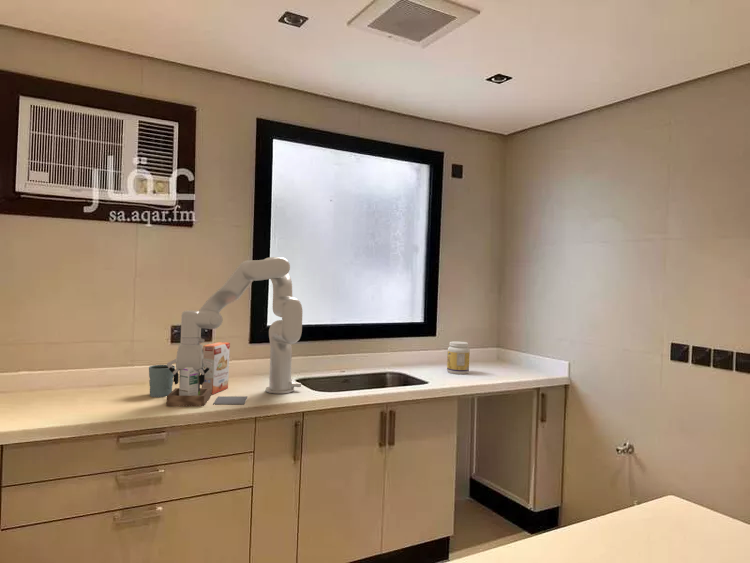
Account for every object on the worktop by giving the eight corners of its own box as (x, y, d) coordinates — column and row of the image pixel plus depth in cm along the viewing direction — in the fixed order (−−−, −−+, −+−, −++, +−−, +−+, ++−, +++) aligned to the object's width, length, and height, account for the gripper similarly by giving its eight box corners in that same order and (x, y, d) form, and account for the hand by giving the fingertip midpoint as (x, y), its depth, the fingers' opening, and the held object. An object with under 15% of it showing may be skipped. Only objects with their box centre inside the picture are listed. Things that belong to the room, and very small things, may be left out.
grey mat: (247, 397, 219) (247, 396, 219) (244, 404, 207) (244, 403, 207) (218, 397, 217) (218, 396, 217) (213, 404, 205) (213, 403, 205)
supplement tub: (444, 370, 295) (445, 340, 295) (465, 370, 297) (466, 341, 296) (449, 374, 283) (450, 343, 283) (471, 374, 284) (472, 344, 284)
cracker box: (213, 395, 221) (214, 346, 221) (200, 394, 222) (202, 345, 222) (229, 388, 235) (230, 342, 234) (217, 387, 236) (218, 341, 236)
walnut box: (210, 397, 216) (210, 388, 216) (203, 406, 202) (204, 396, 202) (175, 397, 214) (175, 388, 214) (166, 406, 200) (166, 396, 200)
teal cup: (142, 396, 216) (143, 367, 215) (160, 391, 225) (161, 363, 225) (162, 398, 212) (162, 369, 212) (179, 393, 222) (180, 365, 221)
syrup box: (188, 404, 204) (189, 367, 204) (178, 402, 207) (179, 366, 207) (200, 401, 209) (200, 365, 209) (190, 399, 212) (191, 364, 212)
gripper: (214, 340, 213) (212, 382, 213) (170, 339, 210) (168, 381, 210) (211, 343, 205) (209, 386, 205) (165, 342, 203) (163, 385, 203)
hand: (189, 384), depth 208 cm, fingers open, 9 cm apart
